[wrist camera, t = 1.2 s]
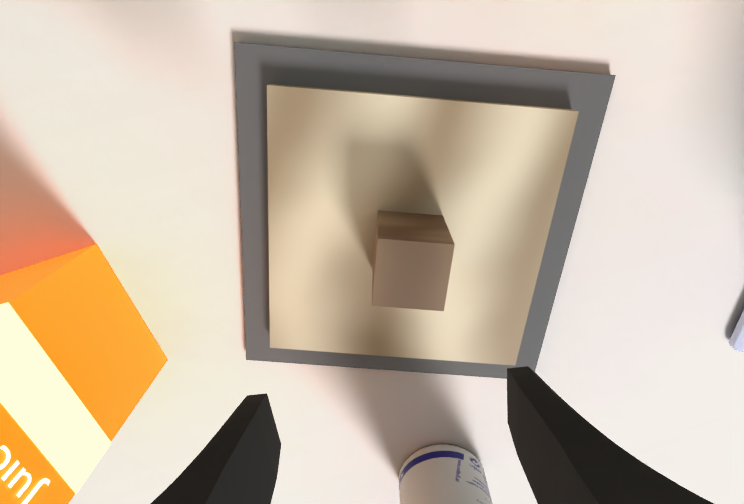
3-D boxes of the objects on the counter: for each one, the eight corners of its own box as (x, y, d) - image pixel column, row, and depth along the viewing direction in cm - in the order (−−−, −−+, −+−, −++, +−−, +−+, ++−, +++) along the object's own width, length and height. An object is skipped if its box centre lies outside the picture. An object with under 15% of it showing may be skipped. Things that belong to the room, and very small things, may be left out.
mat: (611, 74, 19) (615, 75, 19) (530, 375, 26) (532, 380, 25) (237, 42, 19) (234, 42, 19) (248, 355, 26) (246, 359, 25)
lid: (571, 109, 20) (619, 123, 16) (511, 356, 25) (536, 413, 21) (270, 83, 19) (243, 91, 15) (273, 338, 25) (253, 393, 21)
